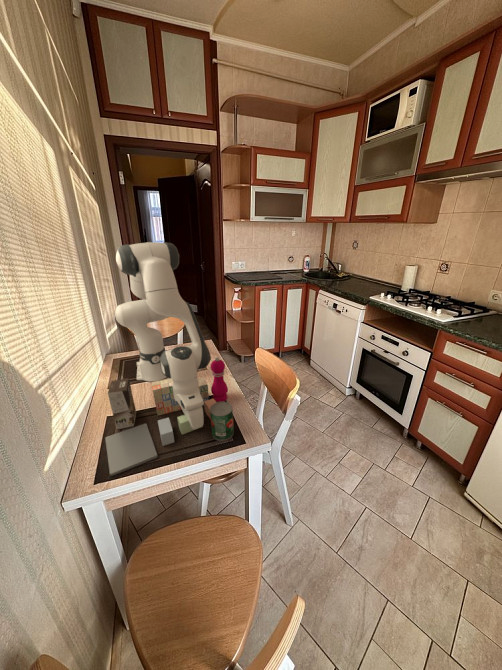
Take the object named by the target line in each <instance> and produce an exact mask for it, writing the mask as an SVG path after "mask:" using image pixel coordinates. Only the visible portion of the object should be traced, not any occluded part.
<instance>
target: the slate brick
mask: <svg viewBox="0 0 502 670" xmlns="http://www.w3.org/2000/svg"><path fill="white" fill-rule="evenodd" d="M157 424H158V425H157V426H158V430H159V434H160V435H159V436H160V440H161V445H162V446H163V447H164V446H167V445H170V444H171V445H172V444H173V443H175V437H174V432H173V431H174V430H173V427H172V424H171V420H170V418H169V417H165V418H162V419H161V418H160V419H159V420H157Z"/></svg>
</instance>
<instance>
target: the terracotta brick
mask: <svg viewBox="0 0 502 670" xmlns="http://www.w3.org/2000/svg"><path fill="white" fill-rule="evenodd" d="M214 403H217V402H216V401H215V400H214V399H213V398H211V399H210V398H209V400H207V401H204V405H203V406H204V413H205V414H206V415H207V417H208V418H209V419H210V420H211V415H210V407H211V406H212V405H213V404H214Z"/></svg>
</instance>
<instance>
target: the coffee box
mask: <svg viewBox="0 0 502 670" xmlns="http://www.w3.org/2000/svg"><path fill="white" fill-rule="evenodd" d="M107 396H108V400H109V404H110V408H111V411H112V415H113V416H112V417H113V420H114V424H115V427H116V430H121V429H127V428H134V427H135V422H136V417H137V416H136V415H137V410H136V404H135V400H134V396H133V391H132V386H131V382H130V378H129V377H127V378H122V379H117V380H111V382H110V386H109V387H108V391H107Z"/></svg>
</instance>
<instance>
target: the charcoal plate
mask: <svg viewBox="0 0 502 670" xmlns="http://www.w3.org/2000/svg"><path fill="white" fill-rule="evenodd" d="M104 439H105V447H106V448H105V449H106V452H107V453H106V455H107V462H108V463H107V464H108V470H109V476H110V477H114V476H116V475H118V474H121V473H123V472H125V471H128V470H130V469H133V468H135V467H137V466H140V465H143V464H145V463H147V462H150V461H152V460H156V459H157V458H158V456H159V455H158V453H157V450H156V447H155V443H154V441H153V438H152V435H151V432H150V430H149V427H148V425H147V423H143V424H139V425H137V426H133V427H130V428H128V429H125V430H122V431H120V432H117V433H113V434H111V435H109V436H106V437H104Z"/></svg>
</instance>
